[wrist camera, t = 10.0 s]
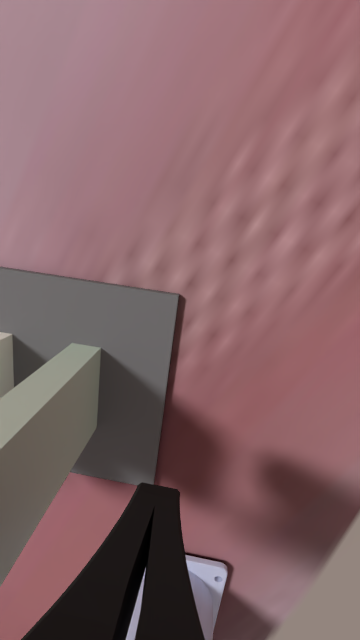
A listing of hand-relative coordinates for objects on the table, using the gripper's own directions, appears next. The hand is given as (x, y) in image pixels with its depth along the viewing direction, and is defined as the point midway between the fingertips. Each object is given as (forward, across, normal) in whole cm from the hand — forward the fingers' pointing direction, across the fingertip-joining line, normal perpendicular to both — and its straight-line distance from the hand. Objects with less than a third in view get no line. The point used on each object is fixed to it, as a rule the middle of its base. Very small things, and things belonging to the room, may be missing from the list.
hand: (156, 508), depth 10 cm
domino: (+6, +5, 0) cm, 8 cm away
